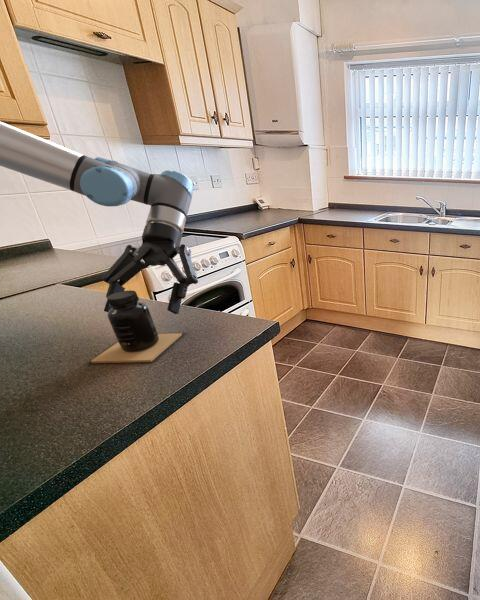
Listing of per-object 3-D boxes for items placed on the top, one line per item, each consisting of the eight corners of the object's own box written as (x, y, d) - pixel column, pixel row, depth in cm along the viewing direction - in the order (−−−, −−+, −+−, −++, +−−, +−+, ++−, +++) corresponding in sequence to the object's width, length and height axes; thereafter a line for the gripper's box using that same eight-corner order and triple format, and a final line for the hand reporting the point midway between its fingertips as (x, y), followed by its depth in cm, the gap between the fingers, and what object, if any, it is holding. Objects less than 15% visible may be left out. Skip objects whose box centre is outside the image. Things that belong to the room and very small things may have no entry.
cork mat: (91, 363, 68) (90, 361, 68) (130, 335, 78) (129, 334, 78) (151, 362, 68) (150, 360, 68) (182, 335, 78) (181, 333, 78)
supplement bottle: (137, 336, 77) (119, 288, 72) (166, 337, 76) (150, 288, 72) (113, 353, 70) (91, 301, 66) (144, 353, 70) (125, 301, 65)
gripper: (223, 237, 85) (207, 316, 77) (124, 238, 85) (98, 318, 77) (208, 220, 78) (188, 305, 70) (99, 221, 78) (68, 307, 70)
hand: (141, 312), depth 74 cm, fingers open, 13 cm apart
